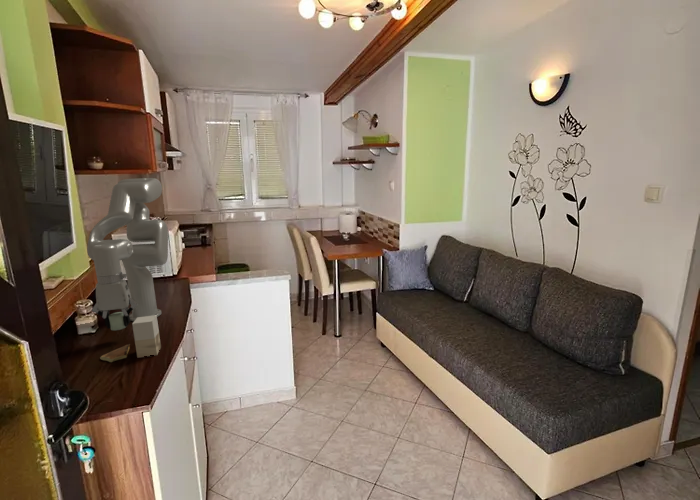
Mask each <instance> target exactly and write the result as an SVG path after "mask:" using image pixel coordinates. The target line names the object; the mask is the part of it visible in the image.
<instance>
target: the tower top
mask: <svg viewBox="0 0 700 500" xmlns="http://www.w3.org/2000/svg"><path fill="white" fill-rule="evenodd" d="M158 323H159V322H158V317H157V315H154V316H145V317H137V319H136V320H135V321H132V331H133V338H134V342H135V341H138V340H146V339H154V338H155V337H156V335H157V334H158V332H159V333H160V330H159V324H158Z"/></svg>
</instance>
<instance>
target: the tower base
mask: <svg viewBox="0 0 700 500" xmlns="http://www.w3.org/2000/svg"><path fill="white" fill-rule="evenodd" d="M160 338H161V337H160V331H159V332H158V334H157V335H156V337H155V338H154V339H146V340H138V341H135V340H134V344H135V350H136V357H137V358H145V357H144V356H147V357H151V356H150V355H154V356H158V354H159V352H160V351H161V349H162V344H161V339H160ZM159 350H160V351H159Z"/></svg>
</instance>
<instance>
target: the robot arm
mask: <svg viewBox="0 0 700 500" xmlns="http://www.w3.org/2000/svg"><path fill="white" fill-rule="evenodd" d="M162 192H163V186H162V182H161V181H160V180H159V179H158V178H154V177H147V178H145V177H142V178H141V177H140V178H125V179H121V180H119V181H118V182H117V183H116V184H115V185H114V186H113V188H112V191H111V196H110V202H109V205H108V211H107V214H106V215H105V216H104V217H103V218H102V219H101V220H99V221H98V222H97V223H96V224H95V225H94V226H93V228H92V229H90V233H89V237H88V241H87V248H86V249H87V250H86V252H87V255H88V258H89V259H91V260H92V261H93V263H94V268H95V274H96V280H97V282H96V284H95V299H96V303H95V304H94V306H93V307H92V309H91V311H92V312H93V313H95V314H97V315H99V316H100V317H102V318H103V319H104V320H103V321H104V325H105V326H106V328H107V330H110V329H111V327H110V322H109V315H110V311H115V310H121V312H123V314H124V316H123V320H124V326H125V328H127V327H128V326H129V324H131V322H134V321H135V320H136V319H137V317H145V316H154V315H157V318H158V317H159V316H160V315H162V309H159V308H158V306H157V300H156V299H157V297H156V292H155V285H154V284H155V283H154V278H153V274H152V272H151V271H150V270H149V269H148V268H147V267H157V266H163V265H165V264H166V263H167V262H168V256H169V254H168V253H169V230H168V226H167V222H165V221H164V220H162V219H159V218H157V219H156V218H155V219H150V213H151V212H150V208H148V205H146V204H148V203H152V202H154V201H156V200H157V199H159V198H160V197H161V195H162ZM124 226H126V238H127V239H124V238H122V239H121V238H117V239H105V238H106V236H107V235H108V234H110V233H111V232H114V231H116V230H117V229H120V228H122V227H124ZM151 242H153V243H151ZM133 243H137V244H133ZM139 243H140V244H139ZM120 261H121V263H122V265H123V267H124V271H125V273H123V271H122V268H121V263H120ZM130 305H131V306H130ZM129 306H130V307H129ZM131 312H132V313H131Z"/></svg>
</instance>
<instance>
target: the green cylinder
mask: <svg viewBox="0 0 700 500" xmlns="http://www.w3.org/2000/svg"><path fill="white" fill-rule="evenodd" d="M123 316H124V314H123V312H122V311H117V312H113V313H111V314H110V313H109V322H110V330H111V331H121V330H124V329H125V328H126V327H125V326H124V320H123Z"/></svg>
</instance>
